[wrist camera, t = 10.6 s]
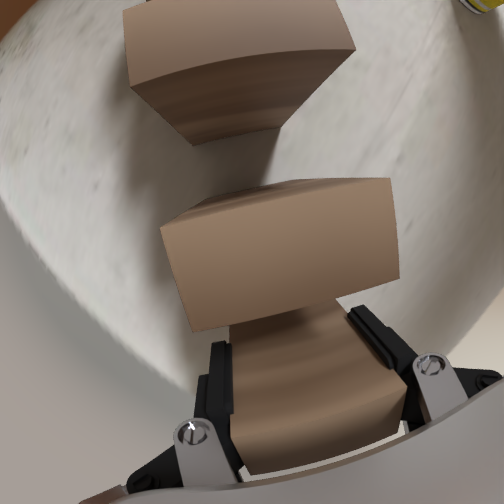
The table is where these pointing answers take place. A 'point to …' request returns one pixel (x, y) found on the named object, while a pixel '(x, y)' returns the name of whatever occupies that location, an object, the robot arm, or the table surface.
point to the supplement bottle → (481, 5)
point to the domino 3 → (308, 389)
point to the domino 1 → (231, 60)
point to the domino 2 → (282, 248)
